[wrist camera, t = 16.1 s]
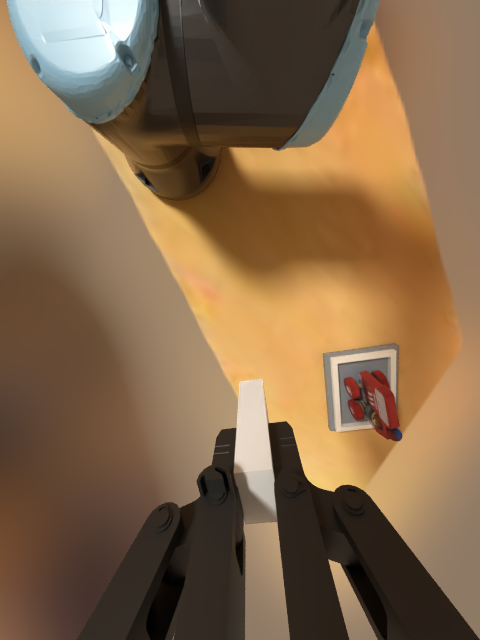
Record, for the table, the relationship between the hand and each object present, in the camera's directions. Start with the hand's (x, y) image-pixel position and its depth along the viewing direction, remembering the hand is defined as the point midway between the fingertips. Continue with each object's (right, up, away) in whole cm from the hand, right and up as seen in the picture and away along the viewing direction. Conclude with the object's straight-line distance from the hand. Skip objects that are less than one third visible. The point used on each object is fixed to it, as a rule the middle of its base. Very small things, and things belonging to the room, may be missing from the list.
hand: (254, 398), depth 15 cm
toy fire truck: (+24, -9, +31) cm, 41 cm away
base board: (+24, -9, +32) cm, 41 cm away
